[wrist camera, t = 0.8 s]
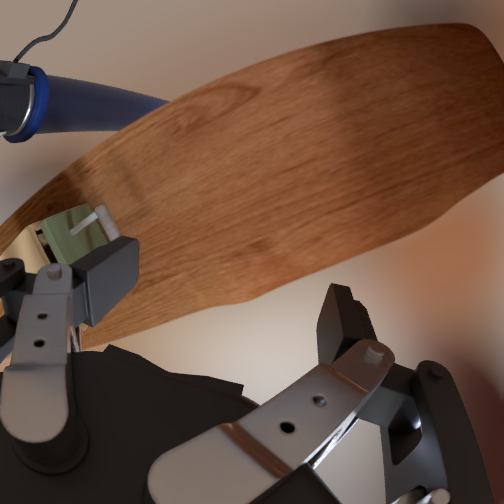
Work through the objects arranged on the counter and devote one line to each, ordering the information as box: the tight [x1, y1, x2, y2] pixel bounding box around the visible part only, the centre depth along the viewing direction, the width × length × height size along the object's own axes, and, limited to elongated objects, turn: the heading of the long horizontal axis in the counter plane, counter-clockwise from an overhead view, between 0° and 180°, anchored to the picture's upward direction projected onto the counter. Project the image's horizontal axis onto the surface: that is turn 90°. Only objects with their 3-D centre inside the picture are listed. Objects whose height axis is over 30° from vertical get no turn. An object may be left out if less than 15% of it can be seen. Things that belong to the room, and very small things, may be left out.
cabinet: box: [0, 206, 88, 331], centre depth 31 cm, size 15×12×9 cm
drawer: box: [37, 203, 121, 266], centre depth 29 cm, size 19×11×7 cm, turn 116°
